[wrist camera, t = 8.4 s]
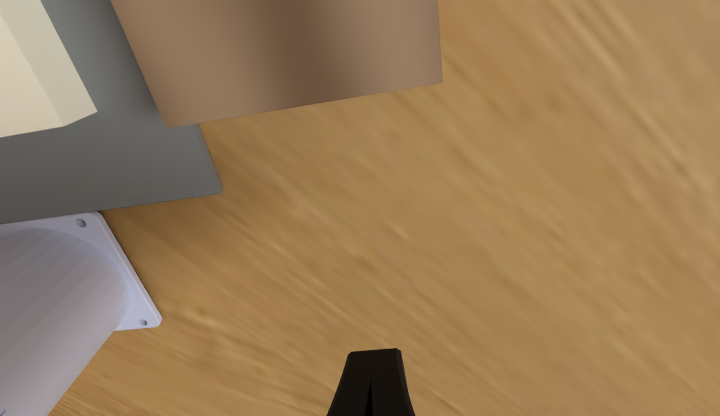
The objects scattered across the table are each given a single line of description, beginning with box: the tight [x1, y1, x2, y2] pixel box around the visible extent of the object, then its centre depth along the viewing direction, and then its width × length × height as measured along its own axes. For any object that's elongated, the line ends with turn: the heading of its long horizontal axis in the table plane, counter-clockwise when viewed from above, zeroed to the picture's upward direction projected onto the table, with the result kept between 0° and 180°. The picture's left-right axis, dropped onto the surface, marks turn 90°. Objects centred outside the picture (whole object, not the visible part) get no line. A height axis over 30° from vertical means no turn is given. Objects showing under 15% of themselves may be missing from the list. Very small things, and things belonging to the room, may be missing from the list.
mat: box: [0, 0, 223, 224], centre depth 15 cm, size 13×16×1 cm
